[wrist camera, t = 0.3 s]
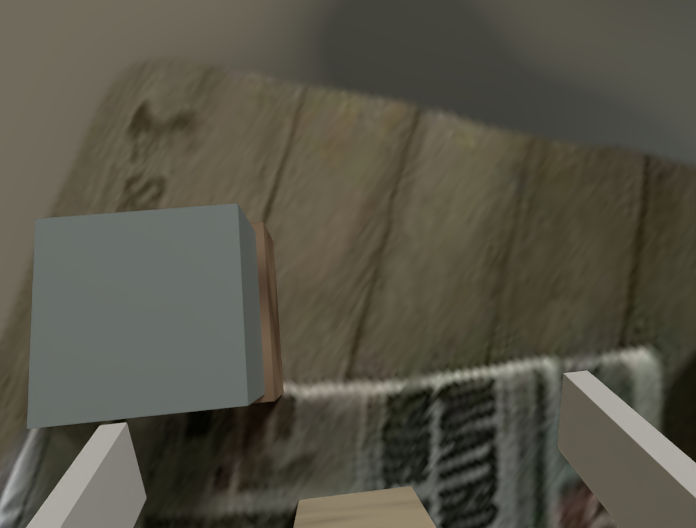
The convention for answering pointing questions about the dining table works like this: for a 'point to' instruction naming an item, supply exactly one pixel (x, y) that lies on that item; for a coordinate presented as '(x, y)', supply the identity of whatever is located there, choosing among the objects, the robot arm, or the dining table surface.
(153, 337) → the tower top
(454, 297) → the dining table surface
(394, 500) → the maple cube
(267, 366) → the tower base
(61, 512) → the robot arm
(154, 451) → the dining table surface
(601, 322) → the dining table surface
